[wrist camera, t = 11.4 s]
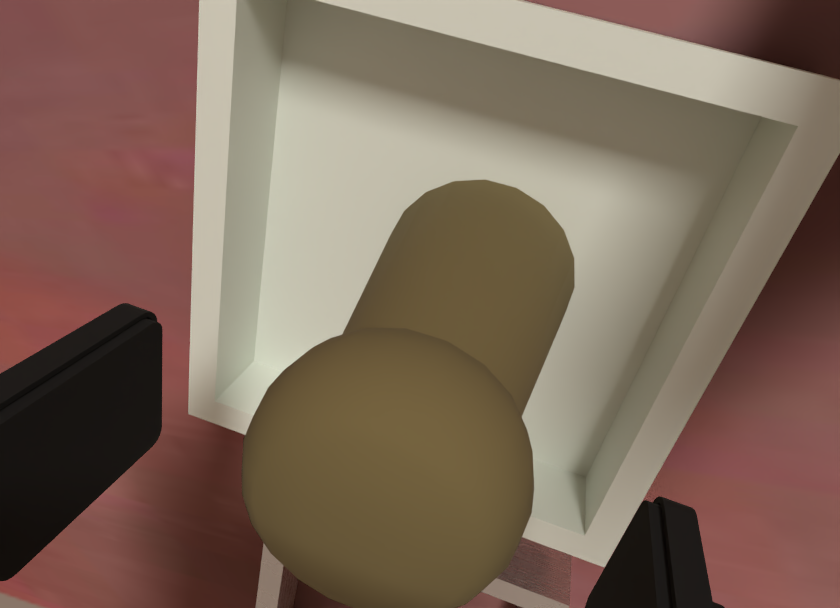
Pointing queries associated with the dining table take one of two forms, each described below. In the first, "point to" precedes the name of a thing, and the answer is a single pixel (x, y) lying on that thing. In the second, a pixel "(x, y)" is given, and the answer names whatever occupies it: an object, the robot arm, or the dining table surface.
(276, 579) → the collar
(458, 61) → the tray
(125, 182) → the dining table surface
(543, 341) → the cork
